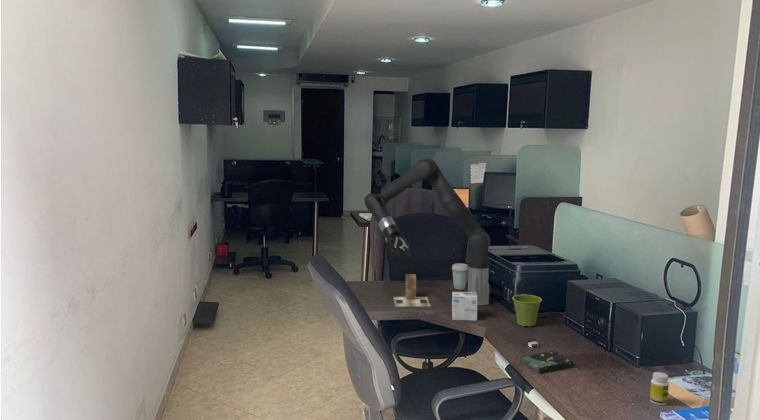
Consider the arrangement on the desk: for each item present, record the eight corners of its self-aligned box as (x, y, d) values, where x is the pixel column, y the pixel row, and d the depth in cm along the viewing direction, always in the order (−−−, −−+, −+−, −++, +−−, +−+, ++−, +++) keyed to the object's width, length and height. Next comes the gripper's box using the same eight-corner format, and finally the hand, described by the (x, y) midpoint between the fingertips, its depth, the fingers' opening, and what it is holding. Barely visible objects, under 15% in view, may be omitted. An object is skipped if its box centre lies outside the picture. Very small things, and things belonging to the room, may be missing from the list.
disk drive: (552, 357, 205) (519, 364, 199) (553, 350, 204) (519, 356, 198) (573, 368, 195) (539, 375, 189) (574, 360, 195) (539, 367, 189)
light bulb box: (476, 316, 249) (477, 291, 248) (477, 321, 242) (478, 296, 241) (451, 315, 250) (452, 291, 249) (451, 320, 243) (452, 295, 242)
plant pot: (517, 318, 246) (518, 292, 245) (544, 323, 239) (546, 297, 238) (506, 325, 237) (507, 299, 235) (534, 331, 230) (535, 304, 228)
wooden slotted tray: (427, 299, 273) (427, 296, 272) (430, 309, 258) (430, 306, 257) (393, 299, 272) (393, 296, 272) (394, 309, 257) (394, 306, 257)
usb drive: (519, 337, 224) (520, 330, 224) (540, 347, 214) (540, 340, 213) (508, 339, 222) (509, 332, 222) (529, 349, 211) (529, 342, 211)
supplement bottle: (664, 407, 167) (666, 379, 166) (647, 402, 170) (649, 374, 169) (669, 401, 170) (671, 374, 169) (652, 396, 173) (654, 369, 172)
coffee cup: (449, 286, 298) (450, 263, 296) (465, 285, 299) (466, 263, 297) (453, 290, 289) (454, 267, 288) (470, 290, 290) (470, 266, 289)
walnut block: (414, 296, 272) (415, 274, 270) (415, 299, 267) (416, 276, 266) (405, 297, 272) (405, 274, 270) (406, 299, 267) (406, 276, 266)
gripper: (384, 222, 268) (400, 251, 261) (403, 224, 279) (418, 251, 272) (374, 232, 272) (389, 260, 264) (393, 233, 282) (408, 260, 275)
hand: (404, 256), depth 268 cm, fingers open, 8 cm apart
